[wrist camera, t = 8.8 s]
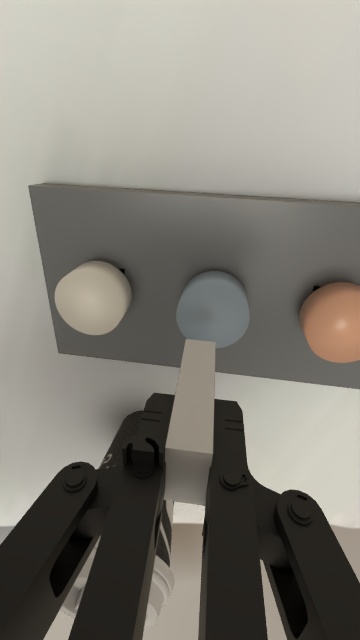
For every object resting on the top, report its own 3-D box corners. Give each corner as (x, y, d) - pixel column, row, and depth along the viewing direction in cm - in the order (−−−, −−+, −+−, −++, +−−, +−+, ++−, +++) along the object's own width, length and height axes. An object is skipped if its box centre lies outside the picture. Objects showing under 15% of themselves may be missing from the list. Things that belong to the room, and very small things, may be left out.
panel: (68, 341, 29) (58, 353, 27) (43, 183, 23) (28, 185, 21) (360, 375, 27) (370, 390, 25) (430, 207, 20) (450, 211, 18)
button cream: (84, 306, 26) (60, 331, 22) (77, 251, 24) (49, 268, 20) (139, 311, 25) (123, 338, 22) (137, 256, 23) (120, 275, 19)
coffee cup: (152, 385, 30) (96, 557, 17) (210, 442, 33) (198, 628, 20) (91, 422, 34) (7, 585, 21) (147, 470, 37) (104, 641, 24)
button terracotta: (288, 327, 24) (299, 358, 20) (302, 269, 22) (317, 293, 18) (350, 333, 24) (374, 366, 20) (372, 275, 21) (402, 300, 18)
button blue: (182, 316, 25) (174, 344, 21) (185, 260, 23) (177, 280, 19) (241, 322, 24) (243, 352, 21) (250, 265, 22) (255, 287, 18)
